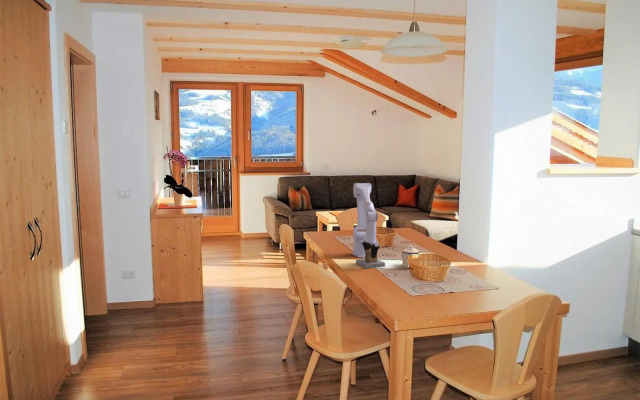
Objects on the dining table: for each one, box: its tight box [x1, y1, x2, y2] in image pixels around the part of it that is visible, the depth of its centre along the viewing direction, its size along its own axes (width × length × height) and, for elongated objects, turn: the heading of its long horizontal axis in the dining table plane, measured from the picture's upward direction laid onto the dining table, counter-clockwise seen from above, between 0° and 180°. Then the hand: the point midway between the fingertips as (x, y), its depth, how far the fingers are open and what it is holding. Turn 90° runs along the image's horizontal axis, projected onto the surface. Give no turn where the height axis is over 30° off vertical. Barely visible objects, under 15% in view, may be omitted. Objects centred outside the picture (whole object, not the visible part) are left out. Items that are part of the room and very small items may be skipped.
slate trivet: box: [355, 258, 386, 269], centre depth 278 cm, size 12×12×2 cm
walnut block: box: [364, 249, 378, 263], centre depth 277 cm, size 5×5×6 cm
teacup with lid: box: [401, 245, 420, 269], centre depth 275 cm, size 12×9×12 cm
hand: (370, 256), depth 277 cm, fingers open, 7 cm apart
